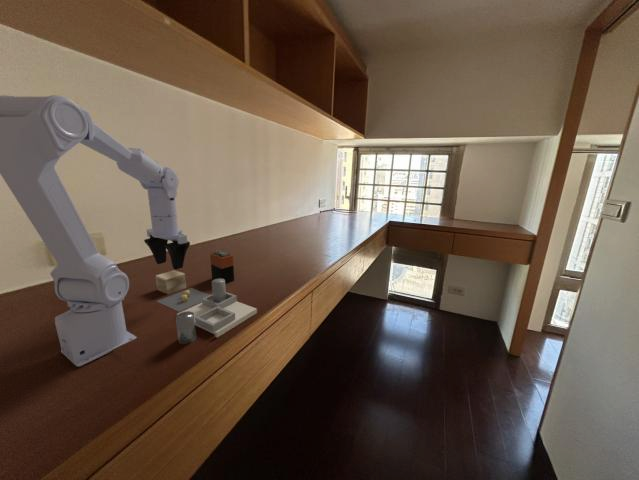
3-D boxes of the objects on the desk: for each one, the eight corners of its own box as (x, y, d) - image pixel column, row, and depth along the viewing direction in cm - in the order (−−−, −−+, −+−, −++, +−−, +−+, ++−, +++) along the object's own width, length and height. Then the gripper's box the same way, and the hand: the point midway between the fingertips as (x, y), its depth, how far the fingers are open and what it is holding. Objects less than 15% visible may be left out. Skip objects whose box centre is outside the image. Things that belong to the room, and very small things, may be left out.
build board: (216, 338, 54) (214, 307, 52) (176, 318, 60) (173, 290, 59) (257, 312, 64) (256, 286, 62) (219, 298, 71) (218, 274, 69)
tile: (179, 314, 62) (178, 306, 62) (156, 303, 67) (155, 296, 67) (213, 298, 71) (213, 291, 70) (191, 289, 76) (190, 283, 75)
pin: (185, 348, 50) (182, 321, 49) (175, 343, 52) (172, 316, 50) (199, 340, 53) (197, 314, 52) (190, 335, 54) (187, 309, 53)
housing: (168, 296, 71) (166, 279, 70) (157, 291, 74) (155, 275, 73) (186, 289, 76) (185, 273, 75) (175, 285, 78) (174, 270, 77)
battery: (222, 286, 79) (220, 255, 76) (211, 280, 83) (209, 250, 81) (235, 282, 82) (233, 252, 80) (223, 276, 86) (221, 248, 84)
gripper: (196, 216, 65) (200, 266, 69) (163, 211, 72) (168, 257, 75) (169, 219, 59) (175, 274, 63) (135, 214, 66) (142, 263, 69)
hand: (169, 265), depth 69 cm, fingers open, 7 cm apart
